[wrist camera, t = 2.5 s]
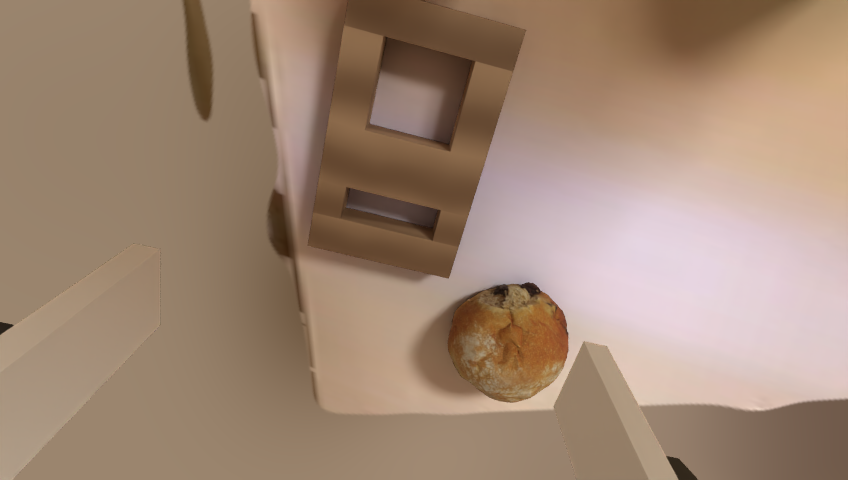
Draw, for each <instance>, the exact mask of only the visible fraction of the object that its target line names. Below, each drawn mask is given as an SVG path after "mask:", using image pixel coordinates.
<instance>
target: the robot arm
mask: <svg viewBox="0 0 848 480" xmlns="http://www.w3.org/2000/svg"><path fill="white" fill-rule="evenodd" d="M159 326H160V249H158V248H154V247H149V246H145V245H140V244H135V243H134V244H132V245H131V246H129V247H128V248H126V249H125V250H123V251H122V252H121V253H119V254H118V255H116V256H115V257H113V258H112V259H110V260H109V261H107V262H106V263H104V264H103V265H102V266H100V267H99V268H97V269H96V270H94V271H93V272H92V273H90V274H88V275H87V276H85V277H84V278H83V279H81V280H80V281H78V282H77V283H75V284H74V285H72V286H71V287H69V288H68V289H67V290H65V291H64V292H62V293H61V294H60V295H58V296H56V297H55V298H54V299H52V300H51V301H49V302H48V303H46V304H45V305H43V306H42V307H40V308H39V309H37V310H36V311H34V312H33V313H32V314H30V315H29V316H27V317H26V318H24V319H23V320H21V321H20V322H18V323H17V324H16V325H12V324H7V323H2V322H0V480H12V479H14V477H15V476H16V475H17V474H18V473H19V472H20V471H21V470H22V469H23V468H24V467H25V466H26V465H27V464H28V463H29V462H30V461H31V460H32V459H33V458H34V457H35V456H36V455H37V453H38V452H39V451H40V450H41V449H42V448H43V447H44V446H45V445H46V444H47V443H48V442H49V441H50V440H51V439H52V438H53V436H55V435H56V434H57V433H58V432H59V430H60V429H61V428H62V427H63V426H64V425H65V424H66V423H67V422H68V421H69V420H70V419H71V418H72V417H73V416H74V415H75V414H76V413H77V412H78V411H79V410H80V408H81V407H82V406H83V405H84V404H85V403H86V402H87V401H88V400H89V399H90V398H91V397H92V396H93V395H94V394H95V393H96V392H97V391H98V390H99V389H100V388H101V387H102V386H103V384H104V383H105V382H106V381H107V380H108V379H109V378H110V377H111V376H112V375H113V374H114V373H115V372H116V371H117V370H118V369H119V368H120V367H121V365H122V364H123V363H124V362H126V360H127V359H128V358H129V357H130V356H131V355H132V354H133V353H134V352H135V351H136V350H137V349H138V348H139V347H140V346H141V345H142V344H143V343H144V342H145V341H146V339H147V338H148V337H149V336H150V335H151V334H152V333H153V332H154V331H155V330H156V329H157V328H158V327H159ZM554 409H555V412H556V416H557V419H558V422H559V425H560V429H561V432H562V435H563V438H564V442H565V445H566V448H567V452H568V455H569V458H570V461H571V465H572V468H573V471H574V474H575V478H576V480H697V478H696V477H695V476H694V475H693V474H692V472H691V471H690V470H689V469H688V468H687V467H686V466H685V465H684V464H683V463H682V462H681V461H680V459H678V458H673V457H668V456H666V455H665V454H664V452H663V450H662V448H661V446H660V444H659V443H658V441H657V439H656V437H655V435H654V433H653V431H652V429H651V428H650V426H649V424H648V422H647V420H646V418H645V416H644V415H643V413H642V411H641V409H640V407H639V405H638V403H637V401H636V400H635V398H634V396H633V394H632V392H631V390H630V388H629V387H628V385H627V383H626V381H625V379H624V377H623V375H622V373H621V372H620V370H619V368H618V366H617V364H616V362H615V360H614V359H613V357H612V355H611V353H610V351H609V349H608V347H607V346H603V345H598V344H594V343H589V342H583V344H582V346H581V349H580V351H579V353H578V355H577V357H576V359H575V362H574V364H573V366H572V368H571V370H570V372H569V374H568V377H567V379H566V381H565V383H564V385H563V387H562V390H561V392H560V394H559V396H558V398H557V400H556V402H555V405H554Z"/></svg>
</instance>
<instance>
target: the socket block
mask: <svg viewBox="0 0 848 480" xmlns="http://www.w3.org/2000/svg"><path fill="white" fill-rule="evenodd" d="M525 32H526V30H524V29H521V28H517V27H514V26H510V25H507V24H503V23H500V22H496V21H492V20H489V19H485V18H482V17H478V16H475V15H471V14H468V13H464V12H461V11H457V10H453V9H450V8H446V7H443V6H439V5H436V4H432V3H429V2H425V1H422V0H348V4H347V10H346V16H345V22H344V28H343V34H342V40H341V46H340V53H339V59H338V65H337V71H336V77H335V83H334V89H333V95H332V101H331V107H330V113H329V119H328V125H327V131H326V137H325V143H324V149H323V155H322V161H321V167H320V173H319V180H318V186H317V192H316V198H315V204H314V210H313V216H312V222H311V228H310V234H309V240H308V246H311V247H315V248H320V249H324V250H328V251H333V252H337V253H341V254H345V255H350V256H354V257H358V258H363V259H367V260H371V261H376V262H380V263H384V264H388V265H393V266H397V267H401V268H406V269H410V270H414V271H419V272H423V273H427V274H431V275H436V276H440V277H444V278H449V276H450V273H451V270H452V266H453V263H454V260H455V257H456V254H457V250H458V247H459V244H460V241H461V237H462V234H463V231H464V228H465V225H466V221H467V218H468V215H469V212H470V209H471V205H472V202H473V199H474V196H475V192H476V189H477V186H478V183H479V180H480V176H481V173H482V170H483V167H484V163H485V160H486V157H487V154H488V151H489V147H490V144H491V141H492V138H493V135H494V131H495V128H496V125H497V122H498V118H499V115H500V112H501V109H502V106H503V102H504V99H505V96H506V93H507V90H508V86H509V83H510V80H511V77H512V73H513V70H514V67H515V64H516V61H517V57H518V54H519V51H520V48H521V45H522V41H523V38H524V35H525ZM387 37H389V38H392V39H396V40H400V41H403V42H407V43H410V44H414V45H418V46H421V47H425V48H429V49H432V50H436V51H440V52H443V53H447V54H451V55H454V56H458V57H462V58H465V59H469V60H472V63H471V67H470V71H469V74H468V78H467V81H466V85H465V89H464V92H463V96H462V100H461V103H460V107H459V111H458V114H457V118H456V122H455V125H454V129H453V132H452V136H451V140H450V143H449V144H445V143H442V142H438V141H434V140H430V139H426V138H422V137H418V136H414V135H410V134H407V133H403V132H399V131H395V130H391V129H387V128H383V127H379V126H375V125H372V124H369V123H370V118H371V113H372V108H373V103H374V99H375V94H376V89H377V84H378V79H379V74H380V69H381V64H382V59H383V54H384V49H385V44H386V39H387ZM350 188H352V189H356V190H360V191H364V192H369V193H373V194H377V195H381V196H385V197H389V198H393V199H397V200H401V201H405V202H409V203H413V204H418V205H422V206H426V207H430V208H434V209H438V211H437V215H436V218H435V222H434V225H433V228H429V227H425V226H421V225H417V224H413V223H409V222H404V221H400V220H396V219H392V218H388V217H384V216H380V215H375V214H371V213H367V212H363V211H359V210H355V209H351V208H346V205H347V200H348V195H349V189H350Z"/></svg>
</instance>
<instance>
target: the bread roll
mask: <svg viewBox="0 0 848 480" xmlns="http://www.w3.org/2000/svg"><path fill="white" fill-rule="evenodd" d="M448 350H449V353H450V356H451V358H452V360H453V363H454V365H455V367H456V369H457V370H458V373H459V374H460V376H461V377H462V378H464V379H466V380H467V381H469V382H470V383H472V384H473V385H474V386H475V387H476V388H477V389H478V390H480V391H481V392H483V393H484V394H485V395H487V396H488V397H489V398H492V399H495V400H498V401H503V402H510V403H512V402H518V401H522V400H524V399H528V398H531V397H532V396H534V395H535V394H537V393H538V392H540V391H541V390H543V389H544V388H546V387H547V386H549V385H550V384H551V383H552V382H553V381H554V380H555V379H556V378H557V377H558V375H559V374H560V372H561V371H562V369H563V367H564V363H565V361H566V358H567V353H568V332H567V323H566V320H565V316H564V314H563V311H562V310H561V309H560V308H559V307H558V305H557V304H556V303H555V302H554V301H553V300H552V299H551V298H550V297H549V296H548V295H547V294H545V293H543V292H542V291H540V289H539V288H538V287H537V286H536V285H535V284H533V283H529V282H528V283H525V284H522V285H521V286H520V285H518V284H510V285H505V284H503V285H501V286H499V287H497V288H493V289H488V290H483V291H482V292H480V293H478V294H477V295H475V296H474V297H472V298H471V299H467V301H466V302H464V303H463V304H462V305H461V306H460V307H458V309H457V310H456V311H455V313H454V317H453V320H452V327H451V330H450V334H449V338H448Z"/></svg>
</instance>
